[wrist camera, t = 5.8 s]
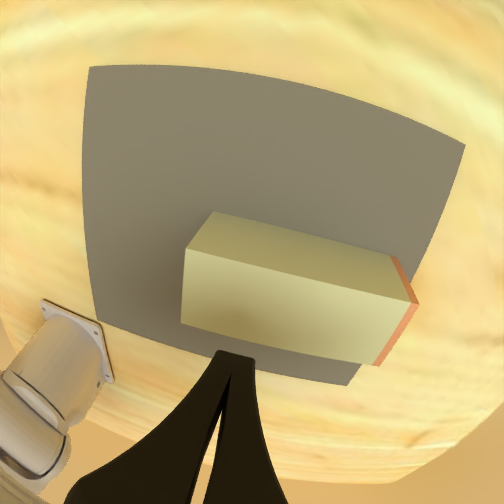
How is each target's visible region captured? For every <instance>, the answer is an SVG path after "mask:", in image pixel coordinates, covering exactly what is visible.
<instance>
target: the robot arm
mask: <svg viewBox="0 0 504 504" xmlns="http://www.w3.org/2000/svg"><path fill="white" fill-rule="evenodd" d="M40 306H41V309H42V313H43V316H44V319H45V323H44V324H43V325H42V327H41V328H40V329H39V330H38V331H37V332H36V333H35V335H34V336H33V337H32V338H31V339H30V341H29V342H28V343H27V344H26V345H25V346H24V348H23V349H22V350H21V351H20V353H19V354H18V355H17V356H16V358H15V359H14V360H13V361H12V363H11V364H10V365H9V366H8V368H7V369H6V370H4V371H2V372H1V370H0V504H49V503H48V502H46V501H45V500H43V499H42V498H40V497H39V496H37V494H40V492H41V491H42V490H43V489H44V488H45V487H46V485H47V484H48V483H49V482H50V481H51V480H52V479H53V478H55V477H57V476H58V475H59V474H60V473H61V472H62V470H63V469H64V467H65V466H66V464H67V462H68V459H69V457H70V453H71V439H70V436H69V434H68V433H67V431H68V429H69V427H71V426H74V425H76V424H78V423H79V422H81V421H82V420H83V419H84V417H85V416H86V414H87V412H88V410H89V409H90V407H91V405H92V403H93V402H94V400H95V398H96V396H97V395H98V393H99V391H100V389H101V388H102V386H103V384H104V383H105V381H106V382H109V383H113V382H114V378H113V375H112V371H111V367H110V363H109V359H108V355H107V351H106V347H105V343H104V338H103V334H102V329H101V327H100V325H98V324H97V323H94V322H92V321H89V320H87V319H85V318H82V317H80V316H78V315H75V314H73V313H71V312H69V311H66V310H64V309H62V308H60V307H58V306H55V305H53V304H51V303H49V302H47V301H45V300H41V301H40ZM255 362H256V361H255V359H254V358H251V357H247V356H243V355H239V354H235V353H231V352H227V351H223V350H217V351H216V352H215V355H214V357H213V358H212V360H211V362H210V364H209V365H208V367H207V369H206V370H205V372H204V373H203V374H202V376H201V377H200V379H199V380H198V381H197V383H196V384H195V385H194V387H193V388H192V389H191V390H190V392H189V393H188V394H187V395H186V397H185V398H184V399H183V400H182V401H181V402H180V403H179V404H178V405H177V407H176V408H175V409H174V410H173V411H172V412H171V413H170V414H169V415H168V416H167V417H166V418H165V419H164V420H163V421H162V422H161V423H160V424H159V425H158V426H157V427H155V428H154V429H153V430H152V431H151V432H150V433H149V434H147V435H146V436H145V437H144V438H143V439H141V440H140V441H139V442H138V443H136V444H135V445H134V446H132V447H131V448H130V449H129V450H127V451H125V452H124V453H122V454H121V455H120V456H118V457H116V458H115V459H114V460H112V461H110V462H109V463H108V464H106V465H104V466H102V467H100V468H98V469H97V470H95V471H93V472H91V473H89V474H87V475H85V476H83V477H82V478H80V479H79V480H78V481H77V482H76V484H74V486H73V487H72V488H71V490H70V491H69V493H68V494H67V497H66V499H65V501H64V504H190V503H191V499H192V496H193V492H194V489H195V485H196V482H197V478H198V474H199V471H200V467H201V464H202V461H203V458H204V455H205V453H206V450H207V448H208V445H209V442H210V440H211V437H212V435H213V432H214V430H215V427H216V424H217V422H218V419H219V416H220V414H221V411H222V414H221V420H220V427H219V433H218V439H217V446H216V452H215V458H214V463H213V468H212V472H211V475H210V479H209V483H208V486H207V490H206V494H205V498H204V501H203V504H288V502H287V500H286V498H285V495H284V493H283V491H282V488H281V486H280V484H279V481H278V479H277V477H276V474H275V471H274V468H273V466H272V463H271V460H270V456H269V453H268V450H267V446H266V443H265V439H264V435H263V430H262V426H261V421H260V416H259V409H258V403H257V396H256V385H255Z"/></svg>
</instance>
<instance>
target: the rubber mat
mask: <svg viewBox="0 0 504 504" xmlns="http://www.w3.org/2000/svg"><path fill="white" fill-rule="evenodd" d="M464 148H465V144H463V143H461V142H459V141H457V140H455V139H453V138H451V137H449V136H447V135H445V134H443V133H441V132H439V131H437V130H434V129H432V128H430V127H428V126H426V125H423V124H421V123H419V122H416V121H414V120H412V119H409V118H407V117H404V116H402V115H399V114H397V113H394V112H392V111H389V110H386V109H383V108H381V107H378V106H375V105H372V104H369V103H366V102H363V101H360V100H357V99H354V98H351V97H348V96H345V95H341V94H338V93H334V92H331V91H327V90H323V89H320V88H316V87H312V86H308V85H304V84H300V83H295V82H291V81H286V80H281V79H276V78H271V77H266V76H260V75H255V74H248V73H242V72H235V71H227V70H219V69H210V68H200V67H187V66H170V65H110V66H93V67H89V74H88V81H87V89H86V98H85V109H84V122H83V142H82V196H83V216H84V230H85V241H86V251H87V259H88V267H89V275H90V282H91V288H92V294H93V300H94V306H95V311H96V316H97V320H99V321H101V322H104V323H107V324H109V325H112V326H114V327H117V328H120V329H122V330H125V331H128V332H130V333H133V334H136V335H139V336H142V337H145V338H148V339H150V340H153V341H156V342H159V343H162V344H166V345H169V346H172V347H175V348H178V349H182V350H185V351H188V352H192V353H195V354H198V355H202V356H205V357H209V358H213V357H214V355H215V352H216V351H217V350H223V351H227V352H231V353H235V354H239V355H243V356H247V357H251V358H254V359H255V361H256V362H255V369H257V370H261V371H266V372H270V373H275V374H280V375H285V376H290V377H295V378H300V379H306V380H311V381H317V382H323V383H330V384H336V385H343V386H347V385H348V383H349V382H350V381H351V379H352V378H353V376H354V375H355V374H356V372H357V371H358V369H359V368H360V366H361V365H362V364H360V363H353V362H347V361H341V360H335V359H330V358H324V357H319V356H314V355H308V354H303V353H298V352H294V351H289V350H284V349H280V348H275V347H271V346H266V345H262V344H258V343H253V342H249V341H245V340H241V339H237V338H233V337H229V336H225V335H222V334H218V333H214V332H210V331H207V330H203V329H200V328H196V327H193V326H189V325H186V324H182V323H181V306H182V289H183V275H184V262H185V250H186V247H187V246H188V244H189V243H190V242H191V240H192V239H193V238H194V236H195V235H196V233H197V232H198V231H199V229H200V228H201V227H202V225H203V224H204V223H205V221H206V220H207V219H208V217H209V216H210V215H211V213H212V212H213V211H215V212H220V213H224V214H228V215H233V216H237V217H241V218H245V219H250V220H254V221H258V222H262V223H266V224H270V225H274V226H278V227H282V228H287V229H291V230H295V231H299V232H302V233H306V234H310V235H314V236H318V237H322V238H326V239H330V240H334V241H337V242H341V243H345V244H349V245H352V246H356V247H360V248H364V249H367V250H371V251H375V252H378V253H382V254H385V255H389V256H393V257H396V258H397V259H398V261H399V263H400V265H401V267H402V269H403V271H404V273H405V275H406V277H407V279H408V281H409V283H410V282H411V280H412V278H413V276H414V274H415V273H416V270H417V268H418V266H419V264H420V262H421V260H422V258H423V256H424V254H425V252H426V250H427V247H428V245H429V243H430V241H431V238H432V236H433V234H434V232H435V229H436V227H437V225H438V222H439V220H440V217H441V215H442V212H443V210H444V207H445V205H446V202H447V199H448V197H449V194H450V191H451V188H452V186H453V183H454V180H455V177H456V174H457V171H458V168H459V165H460V162H461V158H462V155H463V152H464Z"/></svg>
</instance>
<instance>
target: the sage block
mask: <svg viewBox="0 0 504 504" xmlns="http://www.w3.org/2000/svg"><path fill="white" fill-rule="evenodd" d="M419 305H420V304H419V302H418V300H417V298H416V296H415V294H414V291H413V289H412V287H411V285H410V283H409V281H408V279H407V277H406V275H405V273H404V271H403V269H402V267H401V265H400V263H399V261H398V259H397V258H396V257H393V256H389V255H385V254H382V253H378V252H375V251H371V250H367V249H364V248H360V247H356V246H352V245H349V244H345V243H341V242H337V241H334V240H330V239H326V238H322V237H318V236H314V235H310V234H306V233H302V232H299V231H295V230H291V229H287V228H282V227H278V226H274V225H270V224H266V223H262V222H258V221H254V220H250V219H245V218H241V217H237V216H233V215H228V214H224V213H220V212H215V211H213V212H212V213H211V215H210V216H209V217H208V219H207V220H206V221H205V223H204V224H203V225H202V227H201V228H200V229H199V231H198V232H197V233H196V235H195V236H194V238H193V239H192V240H191V242H190V243H189V244H188V246H187V247H186V250H185V262H184V275H183V289H182V306H181V323H182V324H186V325H189V326H193V327H196V328H200V329H203V330H207V331H210V332H214V333H218V334H222V335H225V336H229V337H233V338H237V339H241V340H245V341H249V342H253V343H258V344H262V345H266V346H271V347H275V348H280V349H284V350H289V351H294V352H298V353H303V354H308V355H314V356H319V357H324V358H330V359H335V360H341V361H347V362H353V363H360V364H366V365H373V366H380V365H381V363H382V362H383V361H384V359H385V358H386V356H387V355H388V353H389V352H390V351H391V349H392V348H393V346H394V345H395V343H396V342H397V340H398V339H399V337H400V336H401V334H402V332H403V331H404V329H405V328H406V326H407V325H408V323H409V321H410V320H411V318H412V316H413V315H414V313H415V311H416V310H417V308H418V306H419Z"/></svg>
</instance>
